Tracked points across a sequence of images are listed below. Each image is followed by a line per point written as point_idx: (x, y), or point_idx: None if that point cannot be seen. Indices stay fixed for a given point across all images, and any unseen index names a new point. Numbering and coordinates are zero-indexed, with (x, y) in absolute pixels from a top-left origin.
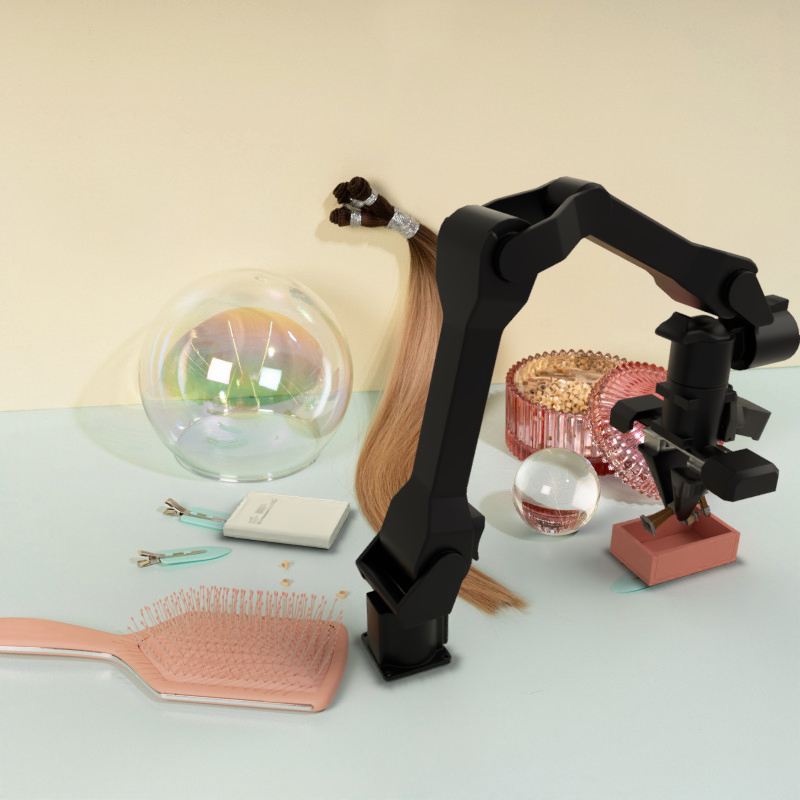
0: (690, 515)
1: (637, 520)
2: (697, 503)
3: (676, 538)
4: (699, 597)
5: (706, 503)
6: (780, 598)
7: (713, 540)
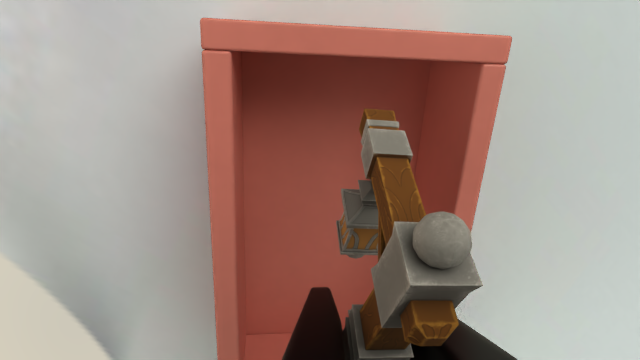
0: (370, 232)
1: (233, 347)
2: (487, 341)
3: (266, 145)
4: (496, 252)
5: (410, 178)
6: (635, 61)
7: (480, 186)
